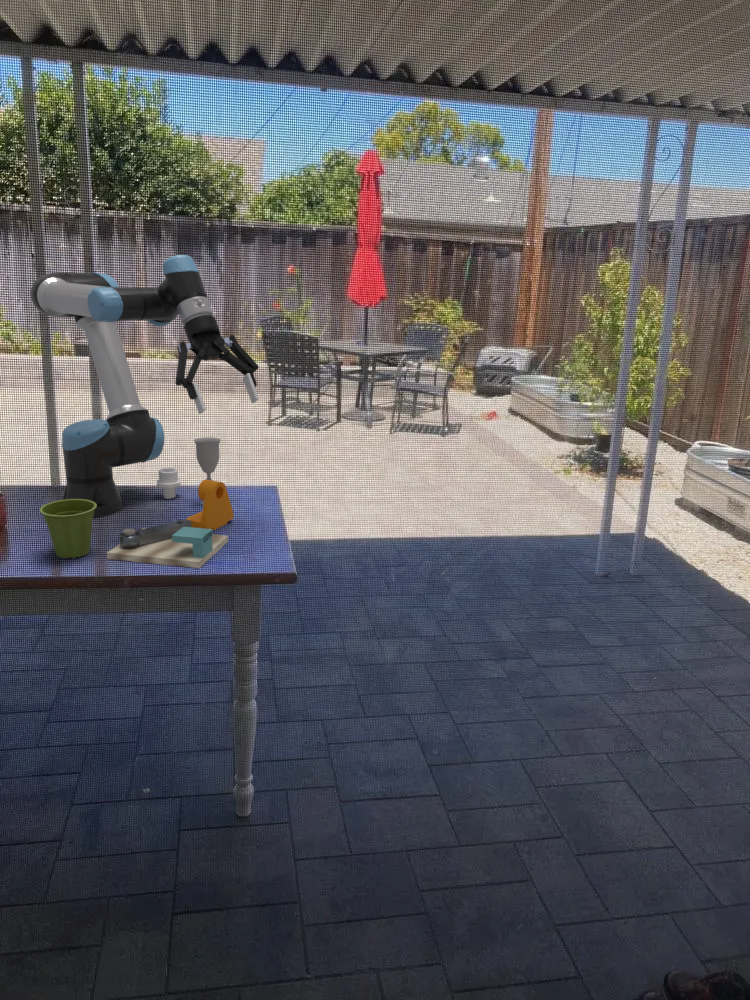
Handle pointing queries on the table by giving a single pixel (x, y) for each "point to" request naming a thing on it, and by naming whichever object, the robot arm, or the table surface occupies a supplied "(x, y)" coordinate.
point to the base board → (165, 552)
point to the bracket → (212, 506)
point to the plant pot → (70, 526)
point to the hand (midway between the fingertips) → (229, 406)
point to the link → (152, 534)
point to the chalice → (207, 454)
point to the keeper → (195, 539)
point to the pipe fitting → (168, 481)
